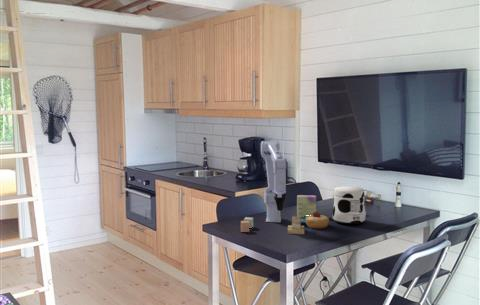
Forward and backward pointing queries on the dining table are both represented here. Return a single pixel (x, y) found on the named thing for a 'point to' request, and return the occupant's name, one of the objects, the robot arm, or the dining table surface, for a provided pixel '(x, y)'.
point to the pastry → (317, 221)
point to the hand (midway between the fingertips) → (280, 208)
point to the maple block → (296, 222)
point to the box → (306, 205)
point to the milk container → (349, 205)
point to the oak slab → (295, 230)
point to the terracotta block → (244, 226)
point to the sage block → (249, 221)
